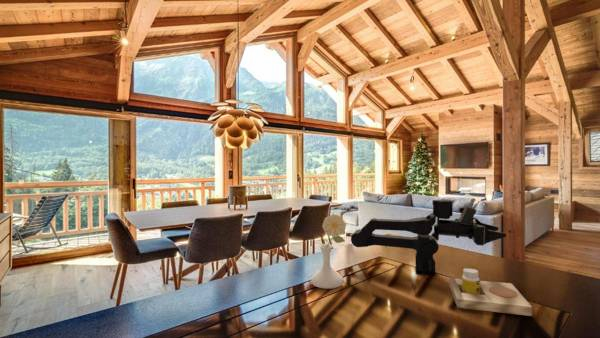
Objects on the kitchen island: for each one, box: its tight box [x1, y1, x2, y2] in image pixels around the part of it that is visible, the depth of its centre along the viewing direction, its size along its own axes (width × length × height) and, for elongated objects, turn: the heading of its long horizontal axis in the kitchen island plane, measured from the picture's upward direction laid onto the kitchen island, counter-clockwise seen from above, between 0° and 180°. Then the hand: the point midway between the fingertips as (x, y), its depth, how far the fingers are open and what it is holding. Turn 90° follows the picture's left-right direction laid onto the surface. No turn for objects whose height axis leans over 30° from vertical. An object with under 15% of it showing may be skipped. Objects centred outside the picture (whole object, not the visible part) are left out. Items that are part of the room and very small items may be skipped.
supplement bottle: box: [461, 267, 481, 295], centre depth 92 cm, size 5×5×8 cm
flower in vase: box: [310, 213, 347, 290], centre depth 104 cm, size 13×11×25 cm
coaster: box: [489, 287, 518, 298], centre depth 90 cm, size 7×7×1 cm
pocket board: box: [448, 277, 533, 317], centre depth 91 cm, size 18×16×2 cm
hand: (501, 231), depth 105 cm, fingers open, 9 cm apart
